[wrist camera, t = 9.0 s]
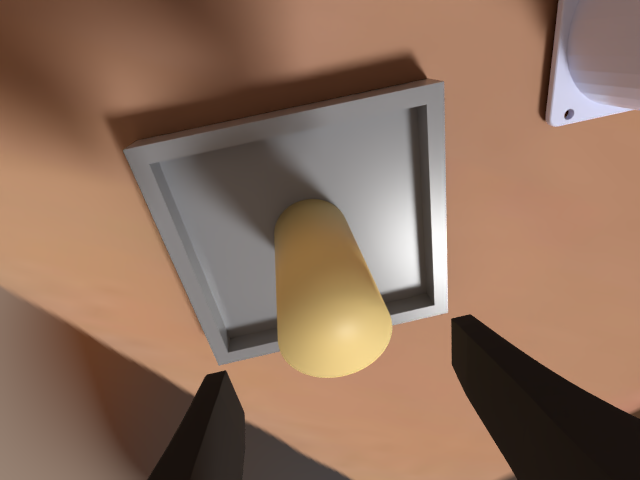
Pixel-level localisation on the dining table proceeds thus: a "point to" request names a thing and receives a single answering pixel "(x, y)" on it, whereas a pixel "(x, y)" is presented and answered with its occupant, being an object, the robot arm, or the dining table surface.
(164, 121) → the dining table surface
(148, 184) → the tray
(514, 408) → the robot arm
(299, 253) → the pin
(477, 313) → the dining table surface
